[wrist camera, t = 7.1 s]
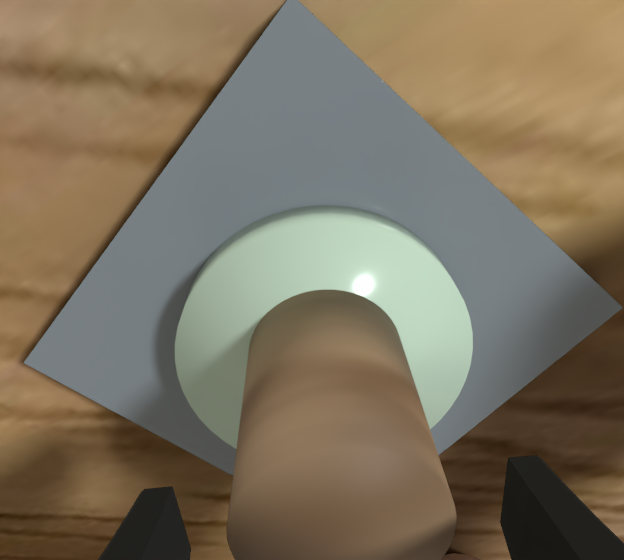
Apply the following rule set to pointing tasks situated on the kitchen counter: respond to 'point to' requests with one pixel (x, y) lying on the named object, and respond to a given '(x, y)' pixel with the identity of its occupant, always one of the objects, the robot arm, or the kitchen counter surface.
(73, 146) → the kitchen counter surface
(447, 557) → the egg
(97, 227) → the kitchen counter surface
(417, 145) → the base
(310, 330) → the walnut cylinder
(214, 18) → the kitchen counter surface
